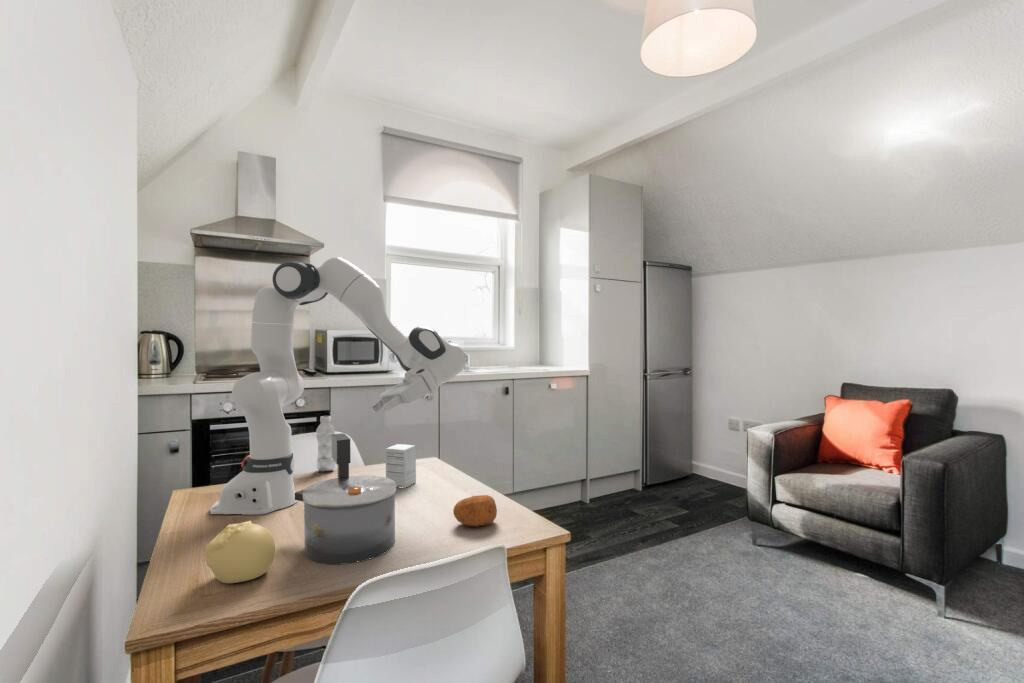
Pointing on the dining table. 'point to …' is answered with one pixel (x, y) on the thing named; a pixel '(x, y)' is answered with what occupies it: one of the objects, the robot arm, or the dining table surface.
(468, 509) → the potato
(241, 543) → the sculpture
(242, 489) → the robot arm
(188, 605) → the dining table surface
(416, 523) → the dining table surface
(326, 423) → the plastic bottle
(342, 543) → the cooker pot
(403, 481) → the supplement box
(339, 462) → the cooker lid
